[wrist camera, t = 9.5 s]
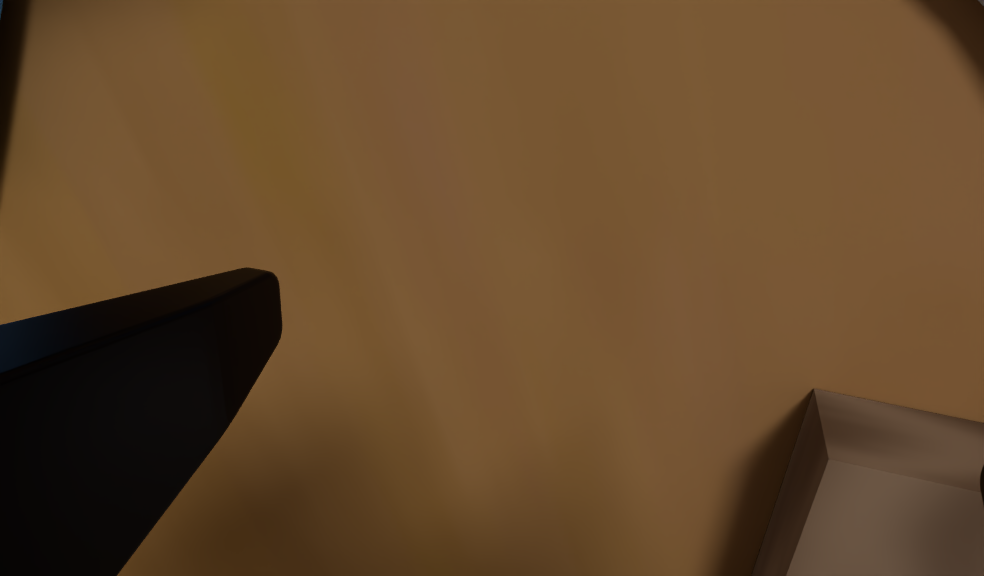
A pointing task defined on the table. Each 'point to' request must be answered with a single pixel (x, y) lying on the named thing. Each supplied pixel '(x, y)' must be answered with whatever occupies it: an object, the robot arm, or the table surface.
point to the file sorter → (0, 4)
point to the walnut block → (878, 494)
